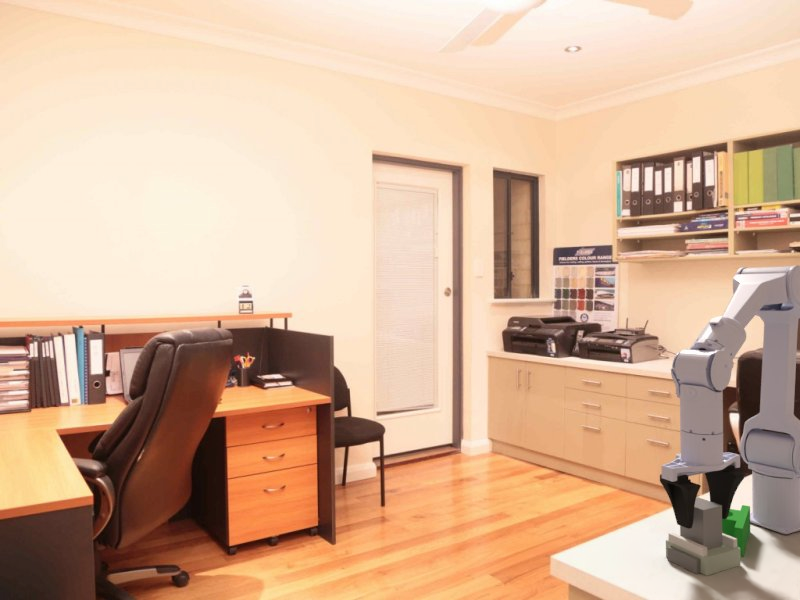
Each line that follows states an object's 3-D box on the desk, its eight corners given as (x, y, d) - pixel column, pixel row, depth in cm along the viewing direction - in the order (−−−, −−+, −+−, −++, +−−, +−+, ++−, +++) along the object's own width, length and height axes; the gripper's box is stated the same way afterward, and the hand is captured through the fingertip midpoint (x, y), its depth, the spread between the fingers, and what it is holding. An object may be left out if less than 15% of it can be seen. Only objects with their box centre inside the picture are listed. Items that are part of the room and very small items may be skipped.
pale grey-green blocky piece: (698, 547, 96) (698, 523, 96) (740, 565, 89) (740, 539, 89) (662, 557, 92) (661, 533, 92) (702, 576, 86) (702, 550, 86)
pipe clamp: (725, 529, 103) (724, 502, 103) (750, 533, 101) (750, 506, 101) (715, 552, 94) (715, 522, 94) (743, 558, 92) (742, 527, 92)
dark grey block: (692, 533, 95) (691, 495, 95) (722, 545, 90) (721, 505, 90) (673, 538, 93) (673, 499, 93) (703, 551, 88) (703, 510, 88)
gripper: (710, 420, 97) (711, 504, 98) (644, 430, 91) (645, 520, 91) (752, 428, 91) (753, 519, 91) (684, 440, 85) (685, 537, 85)
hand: (702, 521), depth 91 cm, fingers open, 7 cm apart
